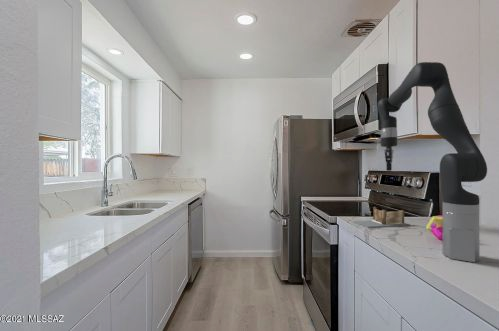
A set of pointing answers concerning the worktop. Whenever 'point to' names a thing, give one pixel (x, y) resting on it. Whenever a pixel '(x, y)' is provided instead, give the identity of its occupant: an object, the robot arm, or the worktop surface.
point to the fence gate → (377, 214)
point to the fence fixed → (393, 217)
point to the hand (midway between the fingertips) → (389, 170)
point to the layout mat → (378, 224)
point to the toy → (436, 226)
